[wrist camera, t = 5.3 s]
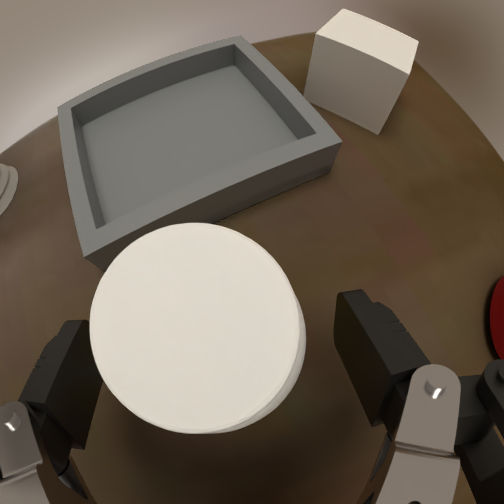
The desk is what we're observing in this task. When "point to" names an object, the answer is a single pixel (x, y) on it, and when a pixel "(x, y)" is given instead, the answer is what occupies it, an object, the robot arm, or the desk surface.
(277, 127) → the tray
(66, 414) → the robot arm
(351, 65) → the white cube
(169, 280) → the supplement bottle
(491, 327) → the beverage can
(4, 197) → the chalice
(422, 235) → the desk surface
